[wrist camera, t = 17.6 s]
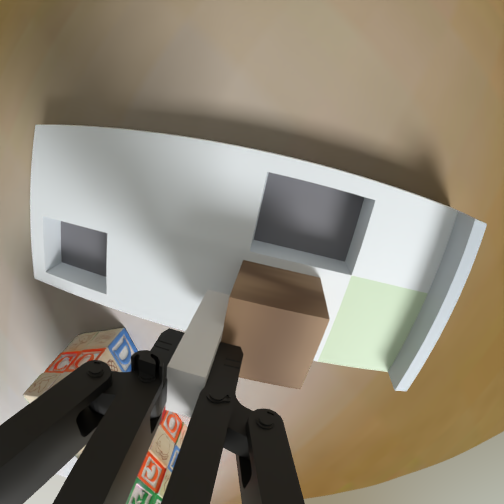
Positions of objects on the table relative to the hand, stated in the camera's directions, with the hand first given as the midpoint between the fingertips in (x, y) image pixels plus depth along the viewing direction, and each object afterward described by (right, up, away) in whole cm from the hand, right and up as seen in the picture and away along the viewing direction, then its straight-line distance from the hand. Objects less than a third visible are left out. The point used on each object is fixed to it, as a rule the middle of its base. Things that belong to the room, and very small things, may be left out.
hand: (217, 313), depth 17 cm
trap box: (0, +4, +3) cm, 5 cm away
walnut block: (+3, 0, +1) cm, 3 cm away
